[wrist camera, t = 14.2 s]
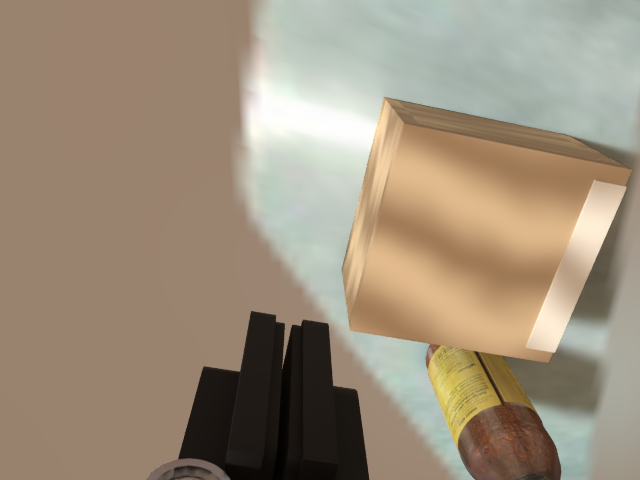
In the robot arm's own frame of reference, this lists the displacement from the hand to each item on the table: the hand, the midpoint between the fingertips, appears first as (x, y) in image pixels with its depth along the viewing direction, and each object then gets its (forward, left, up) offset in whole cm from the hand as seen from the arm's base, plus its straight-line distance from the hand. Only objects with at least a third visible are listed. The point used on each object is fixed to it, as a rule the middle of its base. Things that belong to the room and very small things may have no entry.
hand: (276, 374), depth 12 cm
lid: (+5, +13, -23) cm, 27 cm away
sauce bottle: (+18, +18, -31) cm, 40 cm away
